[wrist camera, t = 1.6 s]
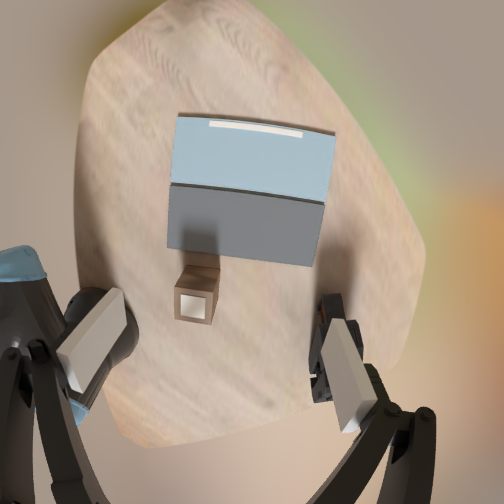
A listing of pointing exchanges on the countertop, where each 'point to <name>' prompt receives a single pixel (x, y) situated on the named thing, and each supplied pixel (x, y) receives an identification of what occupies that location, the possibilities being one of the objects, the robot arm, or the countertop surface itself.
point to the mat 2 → (243, 225)
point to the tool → (327, 309)
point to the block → (196, 294)
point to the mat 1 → (252, 157)
